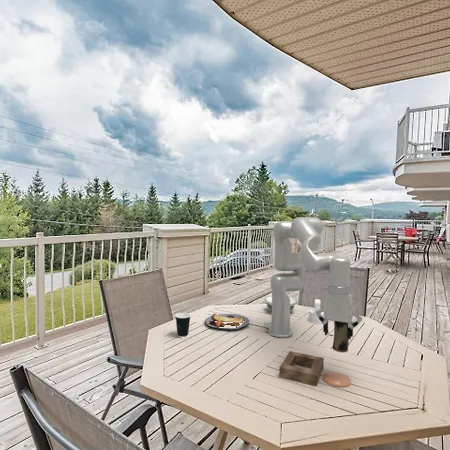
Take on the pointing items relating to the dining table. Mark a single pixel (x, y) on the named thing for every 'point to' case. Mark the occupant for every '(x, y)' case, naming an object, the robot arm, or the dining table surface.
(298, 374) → the frame
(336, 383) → the peach smooth round part
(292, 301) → the bowl
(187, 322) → the dixie cup
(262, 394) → the dining table surface
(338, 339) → the mug
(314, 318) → the cylinder with rectangular tab
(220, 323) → the food plate
